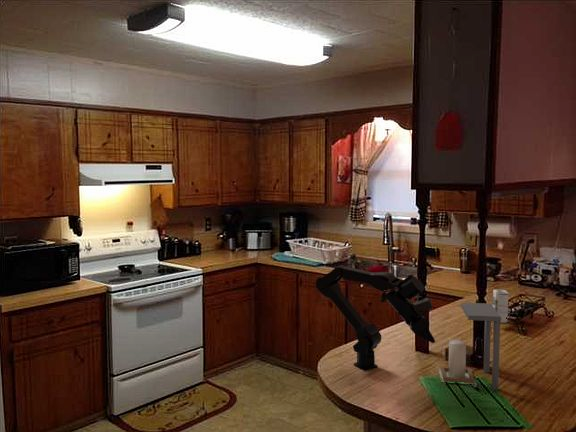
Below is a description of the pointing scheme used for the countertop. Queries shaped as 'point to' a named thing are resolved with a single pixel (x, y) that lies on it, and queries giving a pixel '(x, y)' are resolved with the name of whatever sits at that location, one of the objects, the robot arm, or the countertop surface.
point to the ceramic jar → (457, 359)
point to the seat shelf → (485, 314)
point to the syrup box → (501, 303)
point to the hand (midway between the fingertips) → (431, 339)
